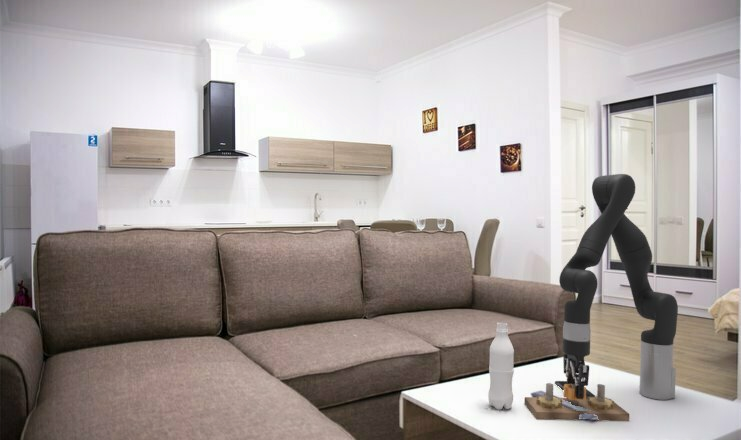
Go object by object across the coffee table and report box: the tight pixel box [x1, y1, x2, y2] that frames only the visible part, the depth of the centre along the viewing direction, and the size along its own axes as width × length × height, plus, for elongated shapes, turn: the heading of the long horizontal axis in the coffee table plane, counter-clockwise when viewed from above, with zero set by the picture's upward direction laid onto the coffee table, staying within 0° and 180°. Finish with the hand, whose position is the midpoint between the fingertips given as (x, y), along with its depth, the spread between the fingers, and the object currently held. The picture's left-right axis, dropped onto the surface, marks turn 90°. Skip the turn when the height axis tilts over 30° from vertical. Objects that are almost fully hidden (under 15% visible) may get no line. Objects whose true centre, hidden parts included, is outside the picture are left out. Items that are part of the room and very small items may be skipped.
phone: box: [554, 380, 596, 398], centre depth 174 cm, size 8×1×15 cm
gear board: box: [524, 382, 630, 422], centre depth 155 cm, size 26×12×8 cm, turn 90°
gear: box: [562, 384, 587, 401], centre depth 154 cm, size 6×6×3 cm
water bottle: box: [488, 321, 515, 410], centre depth 158 cm, size 7×7×25 cm
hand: (574, 394), depth 155 cm, fingers closed on gear, 6 cm apart
